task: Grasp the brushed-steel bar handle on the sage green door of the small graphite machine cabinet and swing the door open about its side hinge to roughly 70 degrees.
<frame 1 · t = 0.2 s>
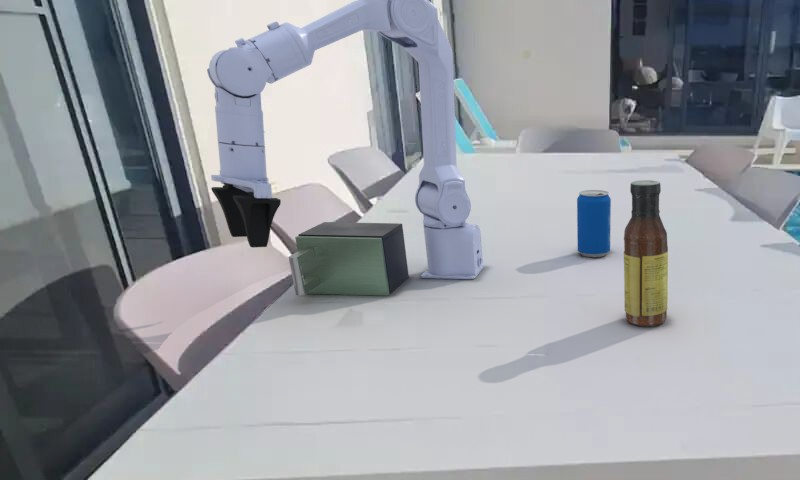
hand: (248, 241, 93), 10 cm above the table, tool pointing down, fingers open, 7 cm apart
machine: (360, 285, 108), on the table
sauce bottle: (644, 321, 94), on the table
beverage can: (593, 254, 127), on the table
machine door: (335, 271, 99), point 5 cm above the table, hinge at 0.0°
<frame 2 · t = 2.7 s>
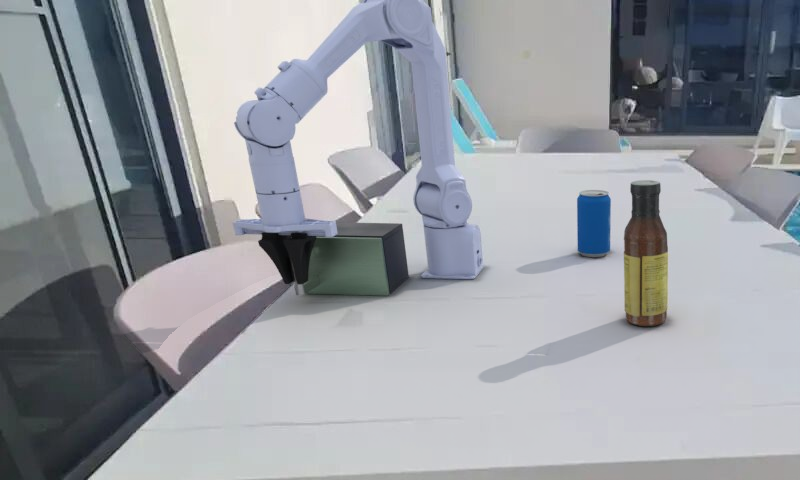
hand: (296, 282, 97), 4 cm above the table, tool pointing down, fingers closed on machine door
machine door: (335, 271, 99), point 5 cm above the table, hinge at 0.0°, touching gripper
everything else where it was.
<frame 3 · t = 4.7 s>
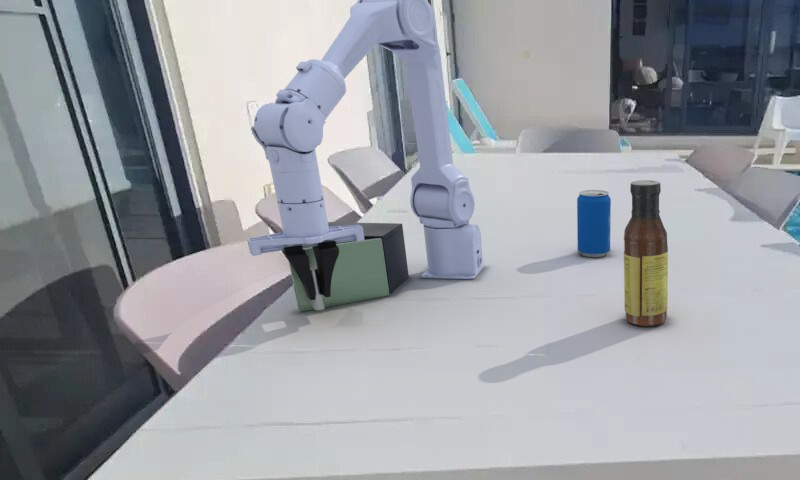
hand: (318, 296, 91), 4 cm above the table, tool pointing down, fingers closed on machine door
machine door: (345, 278, 95), point 5 cm above the table, hinge at 38.1°, touching gripper
everything else where it was.
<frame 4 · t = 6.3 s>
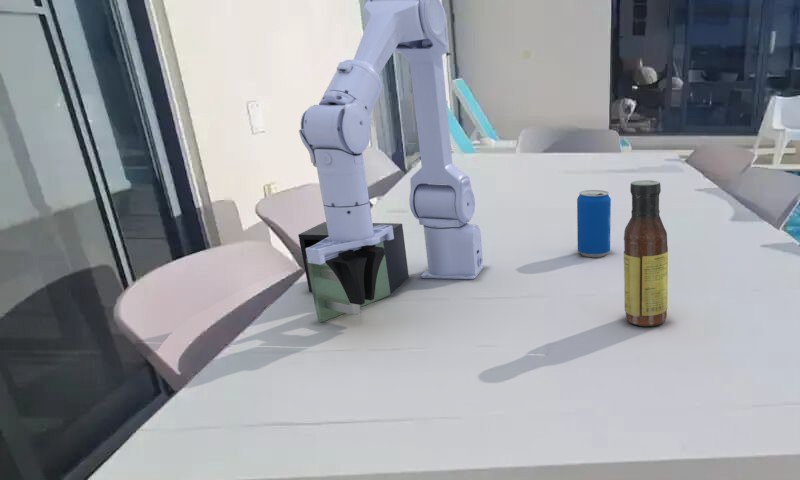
hand: (362, 301, 89), 4 cm above the table, tool pointing down, fingers closed on machine door
machine door: (365, 281, 94), point 5 cm above the table, hinge at 65.5°, touching gripper
everything else where it was.
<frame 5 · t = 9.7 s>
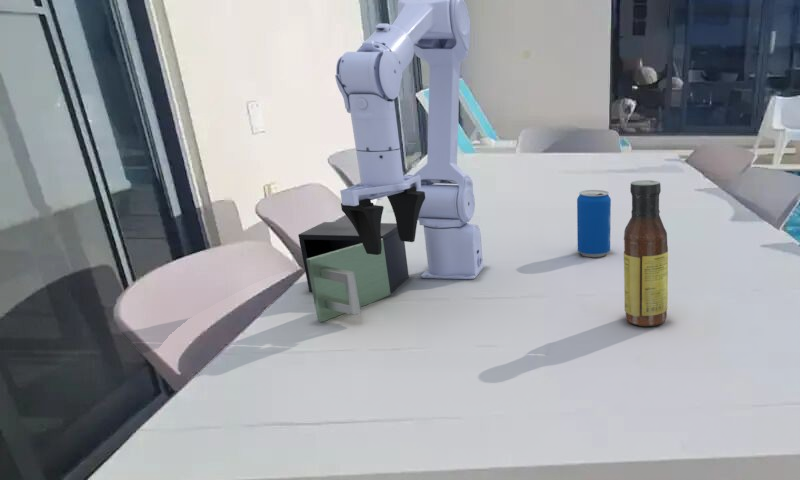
hand: (391, 247, 92), 10 cm above the table, tool pointing down, fingers open, 7 cm apart
machine door: (365, 281, 94), point 5 cm above the table, hinge at 65.5°
everything else where it was.
at the end: machine door at +66° (first picture: +0°) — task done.
